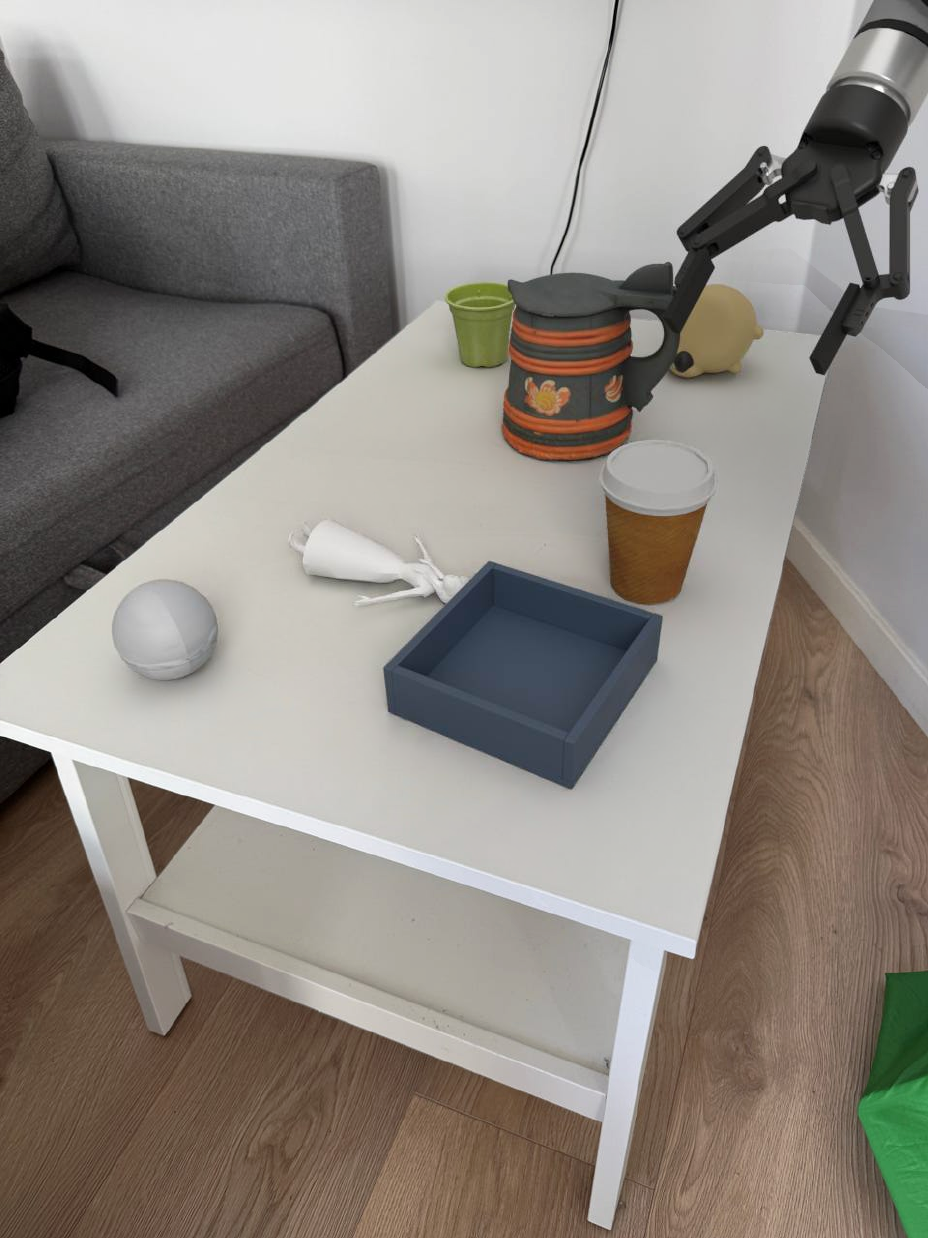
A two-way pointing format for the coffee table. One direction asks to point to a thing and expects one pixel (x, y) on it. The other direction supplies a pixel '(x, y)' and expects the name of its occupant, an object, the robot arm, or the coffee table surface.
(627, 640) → the bin
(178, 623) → the bath bomb
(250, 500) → the coffee table surface
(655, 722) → the coffee table surface
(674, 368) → the toy pig
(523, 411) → the lidded tankard
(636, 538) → the disposable coffee cup
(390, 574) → the woman figurine
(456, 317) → the plant pot
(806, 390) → the coffee table surface
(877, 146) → the robot arm
